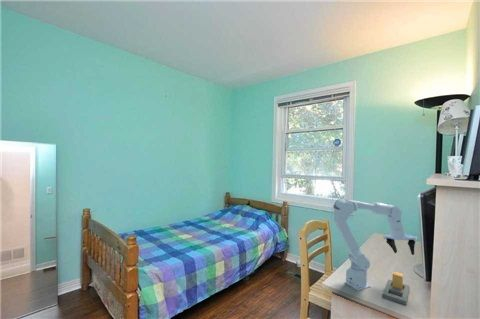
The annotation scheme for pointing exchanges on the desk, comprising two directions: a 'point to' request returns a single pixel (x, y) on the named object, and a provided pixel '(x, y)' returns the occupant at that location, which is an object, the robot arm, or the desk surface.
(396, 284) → the plug
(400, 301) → the power strip
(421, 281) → the desk surface
